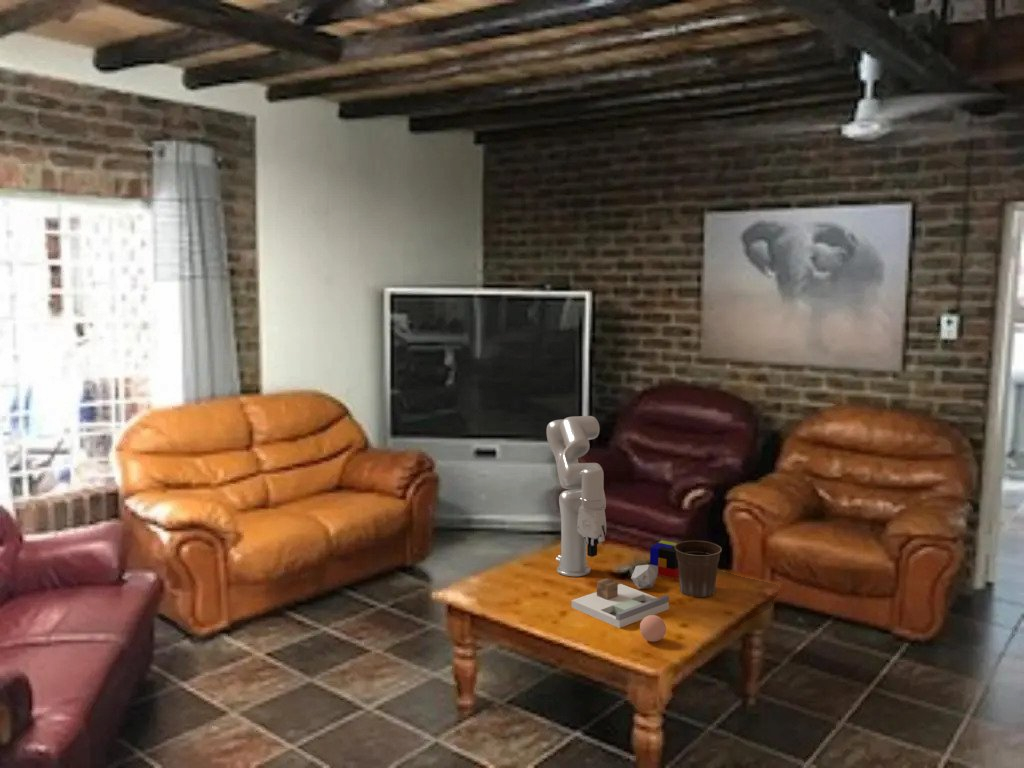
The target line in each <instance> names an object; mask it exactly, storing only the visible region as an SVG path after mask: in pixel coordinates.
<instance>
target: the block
mask: <svg viewBox="0 0 1024 768" xmlns="http://www.w3.org/2000/svg"><path fill="white" fill-rule="evenodd" d="M618 585H619V582H618V581H616V580H613V579H610V578H604V579H601V580H598V581H596V592H597V596H599V597H601V598H604V599H606V600H609V599H612V598H614V597H617V596H618Z"/></svg>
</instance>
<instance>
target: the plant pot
mask: <svg viewBox="0 0 1024 768" xmlns="http://www.w3.org/2000/svg"><path fill="white" fill-rule="evenodd" d="M674 548H675V550H676V557H677V560H678V570H679V575H678V579H679V580H678V581H679V591H680V592H681V593H682V594H683V595H685V596H687V597H688V596H689V597H690V596H693V597H694V598H706V597H707V598H708V597H711V596H713V595H714V593H716V585H717V584H716V583H717V576H718V566H719V562H720V559H721V558H720V556H721V553H722V550H723V548H722V547H721V546H720V545H718V544H717V543H715V542H714V543H713V542H712V541H711V542H710V541H706V540H705V541H704V540H684V541H680V542H678V543H677V544H676V545H675V546H674Z"/></svg>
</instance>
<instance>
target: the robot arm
mask: <svg viewBox="0 0 1024 768" xmlns="http://www.w3.org/2000/svg"><path fill="white" fill-rule="evenodd" d="M599 435H600V423H599V421H598V420H597V418H596V417H595V416H592V415H582V416H581V415H580V416H579V415H578V416H568V417H565V418H564V419H563V418H562V419H555V420H552V421H550V422H549V423H548V424H547V426H546V438H547V439H546V440H547V442H548V446H549V448H550V450H551V452H552V454H553V456H554V459H555V462H556V463H555V465H556V470H557V476H558V480H559V485H560V486H561V487H562V488H563V489H566V490H564V491H561V493H560V494H559V496H558V504H559V512H560V521H561V526H560V530H561V531H560V535H561V541H560V542H561V543H560V545H561V548H560V549H561V553H560V554H558V555H557V556H556V557H555V561H556V562H558V563H559V565H558V566H557V567H556V571H557V573H558V574H561V575H563V576H566V577H576V578H577V577H582V576H587V575H589V574H590V573H591V567H590V566H589V565H588V564H587V557H590V558H592V557H595V556H597V555H598V545H599V544H600V543H603V542H606V541H605V540H606V538H605V537H606V535H607V518H606V511H605V510H606V507H607V500H606V494H605V490H604V489H605V488H604V483H605V482H604V481H605V480H604V478H605V477H604V476H605V475H604V474H605V473H604V470H603V467H602V466H601V464H599V462H598V463H597V462H579V458H582V457H583V456H585V455H586V454H587V453H588V452H589V450H590V440H595V439H596V438H598V436H599Z"/></svg>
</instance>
